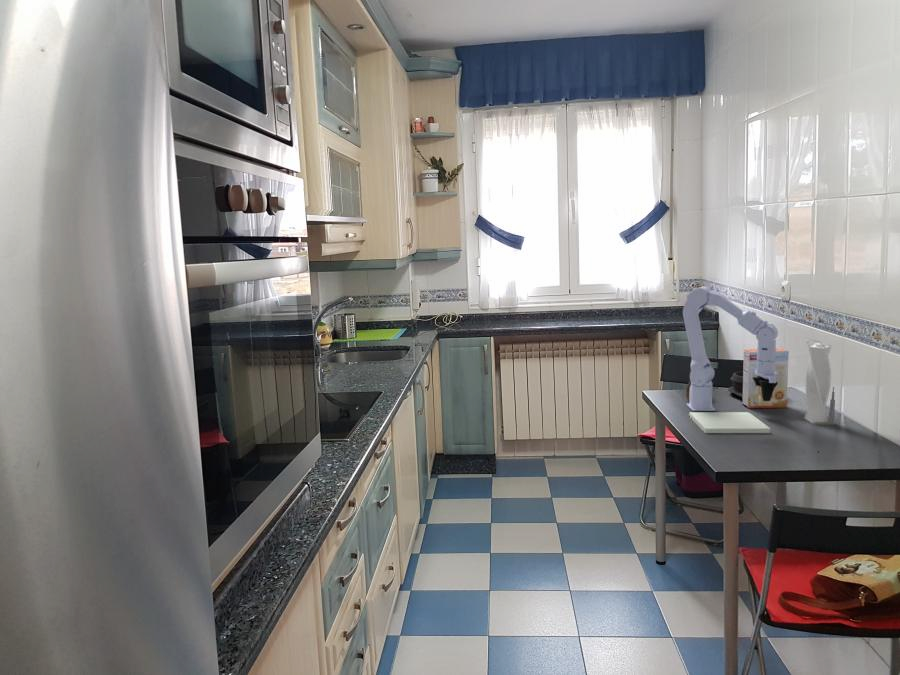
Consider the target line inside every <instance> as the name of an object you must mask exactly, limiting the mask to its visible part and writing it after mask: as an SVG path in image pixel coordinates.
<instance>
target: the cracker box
mask: <svg viewBox="0 0 900 675" xmlns="http://www.w3.org/2000/svg"><path fill="white" fill-rule="evenodd" d="M789 352H790V351H789V350H787V349H784V348H776V356H775V372H777V373H778V375H775V377H776V381H777V382H778V384H777V385H776V387H775V389H774V391H773V401H772V406H760V405H759V404H757V403H756V392H757V388H756V384H755V382H754V380H753V377H757V375H756V374H755V369H756V368H757V348H756V349H755V348H753V349H743V365H742V366H743V368H742V369H743V370H742V371H743V397H742V405H743V404H744V405H746V406H747V407H748V409H771V408H772V409H775V408H782V409H783V408H787V407H788V406H787V404H788V403H787V402H788V383H789V382H788V380H789V354H790V353H789ZM744 405H743V406H744ZM747 407H746V408H747Z"/></svg>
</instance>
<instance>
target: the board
mask: <svg viewBox="0 0 900 675" xmlns="http://www.w3.org/2000/svg"><path fill="white" fill-rule="evenodd" d="M688 416H690V417H689V418H690V419H691V418H692V419H691V420H692V421H693V422H694V423H695V424H696V426H698V428H699V429H701V431H703V433H704V434H771V428H770V427H769V426H767V425H766V424H765V423H764V422H762V421H761V420H760V419H759V418H757V417H756V416H754V415H753V414H752V413H750V412H748V411H747V412H746V411H745V412H744V411H743V412H742V411H741V412H740V411H738V412H737V411H731V412H730V411H728V412H727V411H726V412H725V411H724V412H723V411H722V412H721V411H720V412H719V411H718V412H717V411H692V412H689V413H688Z"/></svg>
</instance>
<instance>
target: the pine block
mask: <svg viewBox="0 0 900 675" xmlns="http://www.w3.org/2000/svg"><path fill="white" fill-rule="evenodd" d="M772 401H773V393H772V396H771V399H770V401H763V397H762V389H761V386H757V392H756V403H757V404H759V405H760V406H772Z"/></svg>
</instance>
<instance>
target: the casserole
mask: <svg viewBox="0 0 900 675" xmlns="http://www.w3.org/2000/svg"><path fill="white" fill-rule="evenodd" d="M730 380H731V383H732V386H729V387H728V388H727V391H728V392H729V393H732V394H734V395H736V396H738V397H741V398H743V370H740V371H739V370H738V371H736V372H734V373H733V374H732V376H731V377H730Z"/></svg>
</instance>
